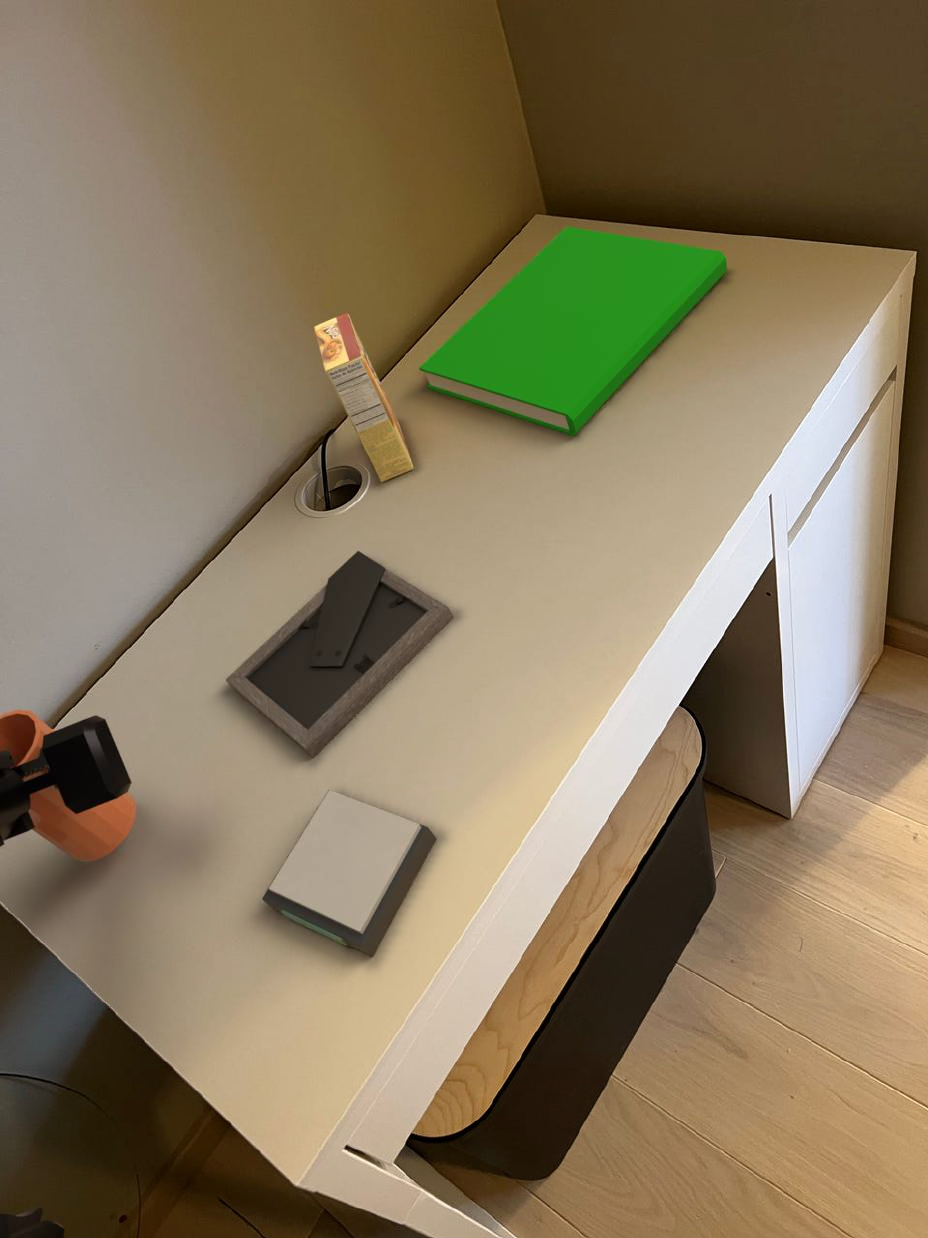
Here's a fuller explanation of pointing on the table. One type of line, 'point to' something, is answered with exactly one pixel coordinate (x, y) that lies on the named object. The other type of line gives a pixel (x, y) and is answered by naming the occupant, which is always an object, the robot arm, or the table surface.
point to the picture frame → (338, 651)
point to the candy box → (362, 396)
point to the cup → (52, 819)
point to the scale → (350, 871)
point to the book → (572, 326)
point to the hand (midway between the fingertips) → (54, 773)
